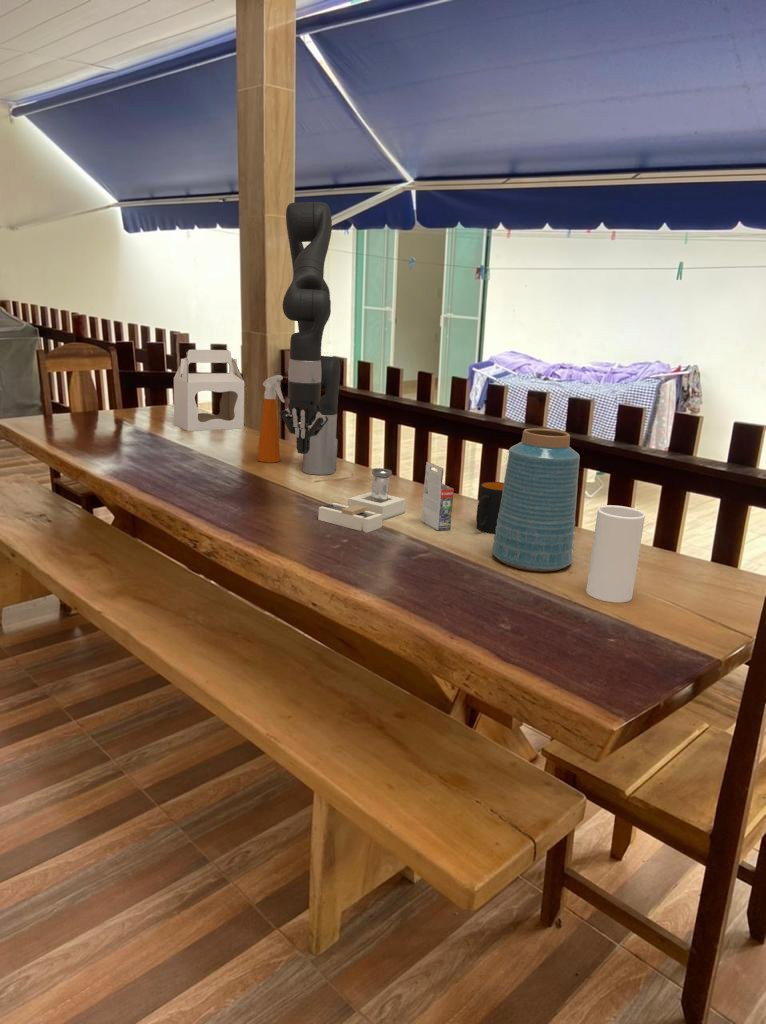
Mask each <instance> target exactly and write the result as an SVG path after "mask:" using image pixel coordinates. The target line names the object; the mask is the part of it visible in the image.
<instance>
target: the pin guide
mask: <svg viewBox="0 0 766 1024" xmlns="http://www.w3.org/2000/svg"><path fill="white" fill-rule="evenodd" d="M330 504H331V505H333V506H335V507H339V508H343V509H342V511H339V510H335V509H331V508H327V507H323V506H324V505H322V506H319V507H318V519H317V520H318V521H322V522H325V523H330V524H334V525H336V526H340V527H344V528H348V529H351V530H352V529H353V530H356V531H360V532H361V531H362V532H364V533H366V534H367V533H370V532H373V531H375V530H379V529H381V528H383V521H382V519H383V515H382V514H376V513H374V512H370V511H367V507H365V506H361V505H353V506H348V505H345V504H340V503H337V502H332V503H330ZM359 513H363V514H367V515H366V518H365V517H363V516H359V515H356V514H359Z"/></svg>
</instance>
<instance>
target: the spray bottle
mask: <svg viewBox="0 0 766 1024" xmlns="http://www.w3.org/2000/svg"><path fill="white" fill-rule="evenodd" d="M283 378H284V377H283V376H282V375H281V374H275V375H272V376H270V377H269V378H267V379H265V380H264V381H263V382H262V385H263V387H264V388H265V391H264V392H263V393H264V394H263V405H262V414H261V424H260V429H259V430H260V431H259V439H258V447H257V456H256V460H257V461H258V462H260V463H267V464H268V463H269V464H272V463H279V462H280V461H281V454H280V450H281V449H280V437H279V436H280V435H279V422H278V421H279V419H278V406H277V396H278V398H279V400H280V401H281V402H282V403H286V400H285V399H284V396H283V392H282V390H281V389H282V388H281V383H282V381H283Z"/></svg>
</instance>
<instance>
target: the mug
mask: <svg viewBox="0 0 766 1024" xmlns="http://www.w3.org/2000/svg"><path fill="white" fill-rule="evenodd" d="M503 486H504V482H501V481H485V482H482V483H481V484H480V486H479V487H480V488H479V497H478V503H477V508H476V516H475V517H476V520H475V521H476V527H475V528H476V529H477V530H478V531H479V532H482V533H486V534H489V535H495V533H496V530H495V529H496V525H497V518H498V512H499V508H500V503H501V496H502V490H503Z"/></svg>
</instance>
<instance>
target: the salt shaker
mask: <svg viewBox="0 0 766 1024" xmlns="http://www.w3.org/2000/svg"><path fill="white" fill-rule="evenodd" d="M392 471H393V470H391V469H388V468H382V467H381V468H380V467H379V468H372V472H371V474H372V484H371V491H370V492H371V501H373V502H378V503H382V502H386V501H387V499H388V495H389V488H390V479H391V477H392V474H393V472H392Z"/></svg>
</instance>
